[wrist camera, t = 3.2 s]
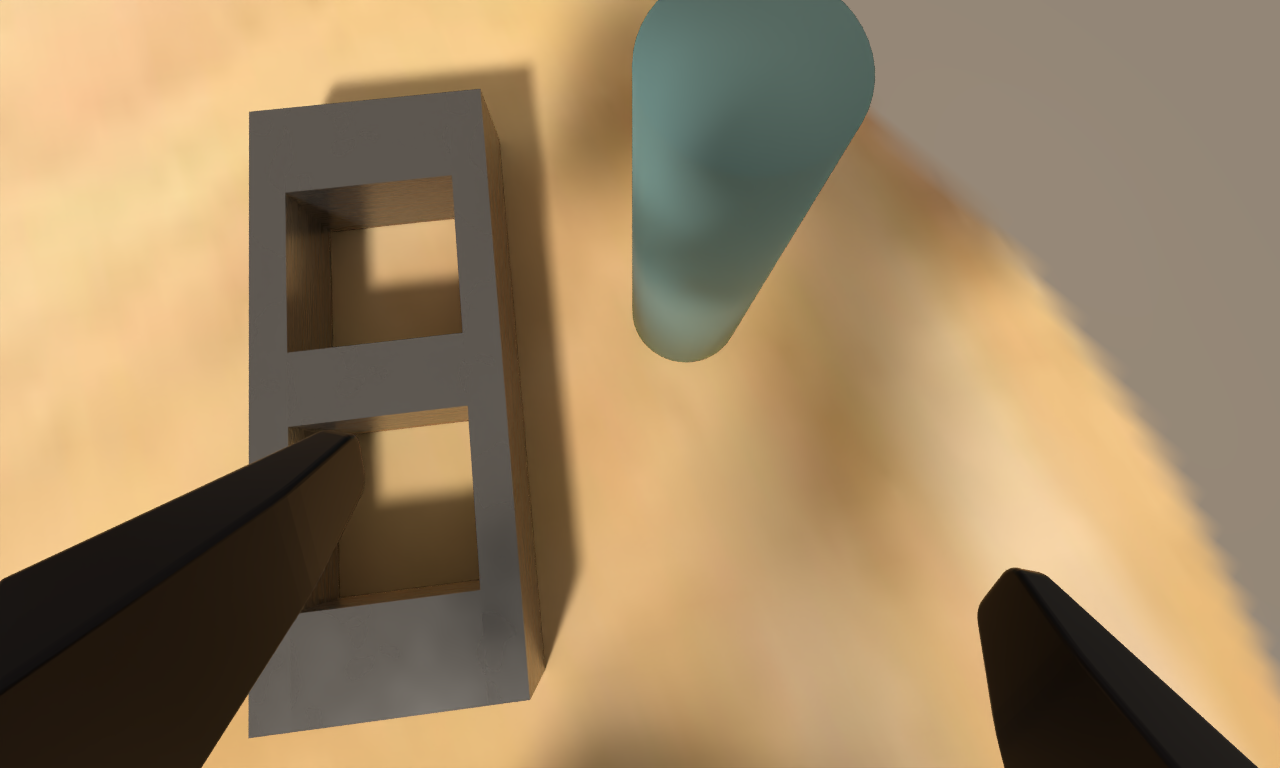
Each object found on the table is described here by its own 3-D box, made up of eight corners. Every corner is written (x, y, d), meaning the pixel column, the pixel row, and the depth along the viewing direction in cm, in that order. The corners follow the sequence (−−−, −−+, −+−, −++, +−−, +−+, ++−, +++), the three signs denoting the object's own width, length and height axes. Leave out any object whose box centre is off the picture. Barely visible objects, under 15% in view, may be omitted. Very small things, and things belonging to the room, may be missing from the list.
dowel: (758, 320, 22) (925, 87, 10) (676, 383, 22) (736, 223, 9) (693, 242, 23) (768, -76, 10) (611, 301, 23) (583, 45, 10)
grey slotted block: (545, 670, 20) (530, 699, 17) (306, 702, 20) (248, 738, 17) (499, 139, 24) (480, 88, 21) (297, 160, 23) (249, 111, 20)
